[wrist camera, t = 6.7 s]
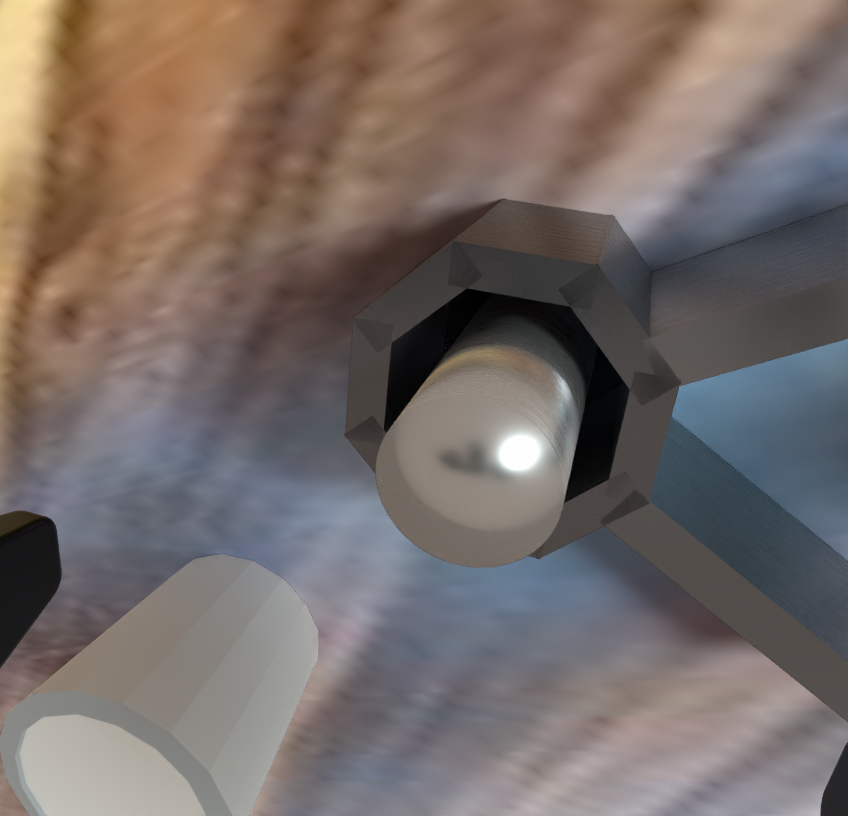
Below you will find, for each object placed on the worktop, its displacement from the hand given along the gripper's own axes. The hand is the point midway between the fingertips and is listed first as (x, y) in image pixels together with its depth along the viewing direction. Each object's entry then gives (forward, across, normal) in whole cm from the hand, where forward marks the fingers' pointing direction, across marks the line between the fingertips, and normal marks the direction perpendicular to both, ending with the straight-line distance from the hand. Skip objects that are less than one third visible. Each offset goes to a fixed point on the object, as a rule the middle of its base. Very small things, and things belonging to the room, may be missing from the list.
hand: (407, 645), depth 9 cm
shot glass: (+12, +8, +12) cm, 19 cm away
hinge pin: (+12, 0, 0) cm, 12 cm away
